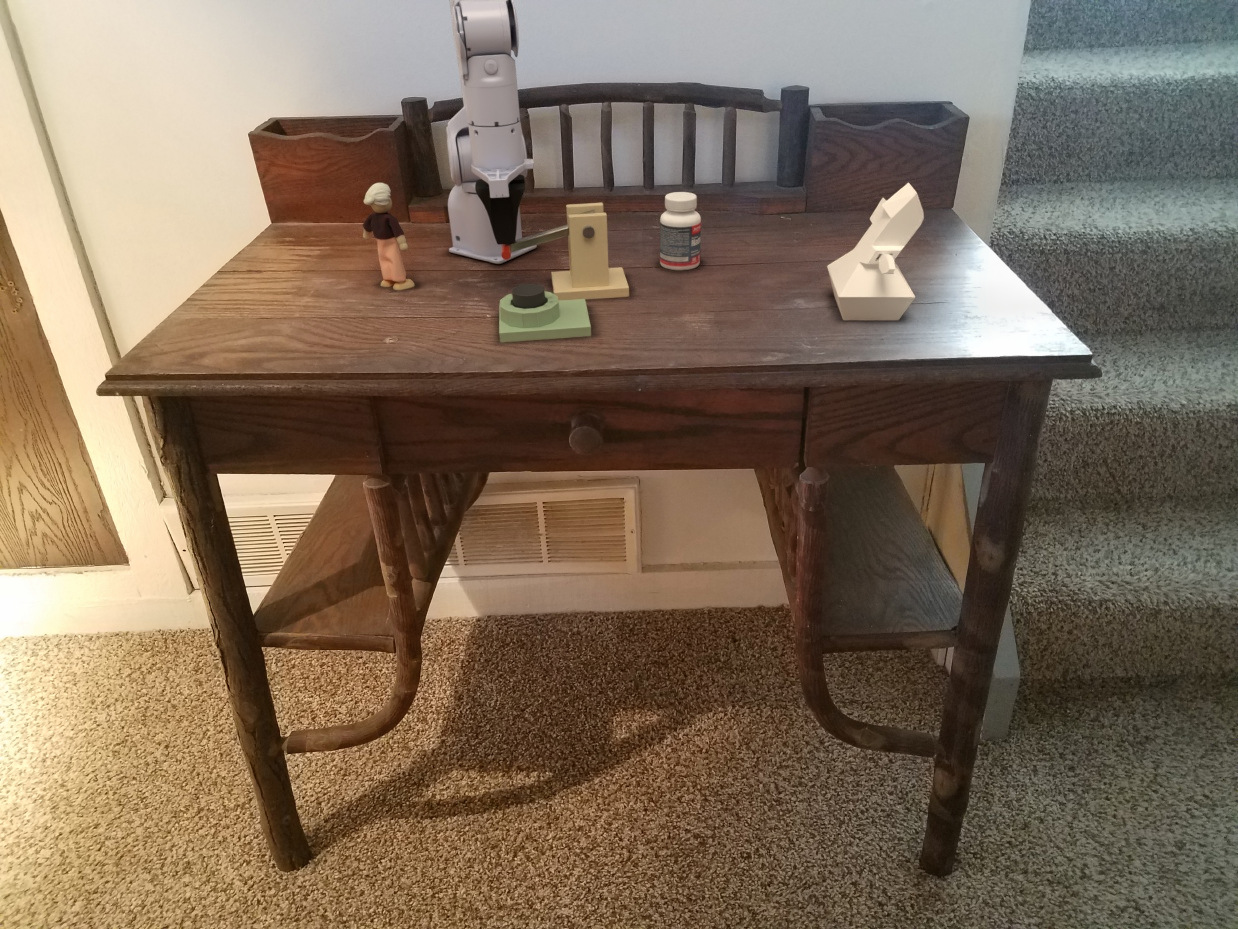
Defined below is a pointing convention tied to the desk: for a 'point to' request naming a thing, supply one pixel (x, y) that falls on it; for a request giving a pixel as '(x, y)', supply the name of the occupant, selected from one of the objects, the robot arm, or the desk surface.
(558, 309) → the button box
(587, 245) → the bracket
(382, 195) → the grandmother figurine
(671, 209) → the pill bottle
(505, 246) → the lever
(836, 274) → the beige angled stand
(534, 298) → the button
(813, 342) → the desk surface
